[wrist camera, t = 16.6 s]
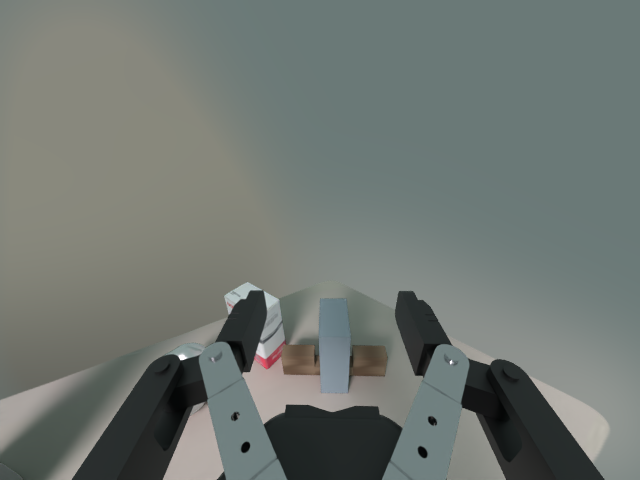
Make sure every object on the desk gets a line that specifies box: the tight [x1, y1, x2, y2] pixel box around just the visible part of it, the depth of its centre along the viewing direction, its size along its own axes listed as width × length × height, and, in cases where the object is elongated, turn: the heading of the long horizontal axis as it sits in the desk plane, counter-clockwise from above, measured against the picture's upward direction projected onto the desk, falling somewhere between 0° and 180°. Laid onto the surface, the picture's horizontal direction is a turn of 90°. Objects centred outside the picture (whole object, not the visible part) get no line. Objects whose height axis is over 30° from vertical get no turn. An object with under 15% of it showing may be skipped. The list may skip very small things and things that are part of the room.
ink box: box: [224, 282, 286, 369], centre depth 38 cm, size 8×5×12 cm, turn 54°
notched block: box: [319, 299, 351, 393], centre depth 34 cm, size 4×7×12 cm, turn 178°
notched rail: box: [281, 345, 388, 376], centre depth 36 cm, size 16×2×4 cm, turn 88°
